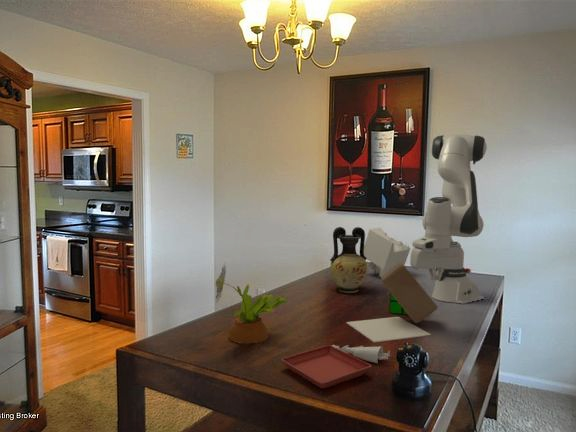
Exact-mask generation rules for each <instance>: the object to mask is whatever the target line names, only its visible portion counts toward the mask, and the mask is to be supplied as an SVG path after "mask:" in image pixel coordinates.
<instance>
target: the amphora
mask: <svg viewBox="0 0 576 432" xmlns="http://www.w3.org/2000/svg"><path fill="white" fill-rule="evenodd" d="M332 232H333V233H332V238H333V239H332V240H333V242H332V243H333V255H332V256H331V258H330V259H329V261H330V267H329V268H330V275H331V276H332V279H333V281H334V282H335V283H336V285H337V286H338V291H339V292H341V293H347V294H352V293H354V294H355V293H357V292H359V288H358V287H359V286H360V285H361V284H363V282H364V280H365V278H366V276H367V274H368V273H367V272H368V263H367V258H366V257H365V256H364V245H365V242H366V233H365V230H364V228H362V227H360V226H356V227H354V228H353V229H352V230H351V234H347V231H346V229H345V228H344V227H342V226H338V227H336V228H334V230H333V231H332ZM338 239H339V242H340V243H341V244H342V245H341V246H342V250H341V253H339V246H338V244H339V243H338ZM359 240H360V242H359ZM358 243H359V254H358V253H357V248H356V246H357V244H358Z"/></svg>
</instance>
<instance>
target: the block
mask: <svg viewBox="0 0 576 432" xmlns="http://www.w3.org/2000/svg"><path fill="white" fill-rule="evenodd" d="M380 279H381V283H382V284H383V285H384V287H386V289H387V290H388V291H389V294H390V293H391V294H392V295H393V296H394V298H395V299H396V300H397V301H398V303H399V304H400V305H401V306H402V307H403V309H404V310H405V311H406V312H407V314H408V315H407V316H409V318H410V320H411V321H413V323H416V324H419V323H420V322H422V321H423V320H425V319H426V318H427V317H428V316H430V315H431V314H433V313H434V312H435V311H436V310H437V309H438V305H437V304H436V302H434V300H433V298H432V297H430V295H429V294H428V293H427V292H426V290H425V289H424V288H423V286H422V285H420V283H419V282H418V281H417V279H416V278H415V277H414V276H413V275H412V273H411V272H410V270H408V269H407V267H406V266H405V265H403V264H402V263H398V264H397V265H396V266H394V267H393V268H392V269H391V270H389V271H388V272H387V273H385V274H384V275H383V276H382V277H380Z"/></svg>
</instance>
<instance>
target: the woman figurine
mask: <svg viewBox="0 0 576 432" xmlns="http://www.w3.org/2000/svg"><path fill="white" fill-rule="evenodd" d="M331 346H333V347H335V348H337V349H339V350H341V351H343V352H345V353H347V354H349V355H352V356H354V357H356V358H358V359H360V360H362V361H365V362H370V363H373V364H374V363H375V364H378V365H379V362H378V360H379V361H380V360H389V357H390V356H391V354H390V353H391V350H388V352H387V353H386V352H384V347H383V346H364V345H360V346H354V347H349V345H344V346H343V347H341V348H340V346H339V345H335V344H332V345H331Z"/></svg>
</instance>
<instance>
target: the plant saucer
mask: <svg viewBox="0 0 576 432" xmlns="http://www.w3.org/2000/svg"><path fill="white" fill-rule="evenodd" d="M281 362H282V363H283V364H284V365H285V366H286V367H287V368H288V369H289V370H290V369H291V370H292V371H291V370H290V371H291V372H293V371H294V372H293V373H294V374H296V373H297V374H296V375H298V374H299V375H298V376H300V377H301V376H302V377H301V378H302V379H304V380H306V379H307V380H306V381H308V382H309V381H310V382H309V383H311V382H312V383H311V384H313V385H314V384H315V385H314V386H316V387H317V386H318V387H317V388H319V387H320V388H319V389H321V388H325V389H327V387H328V388H330V386H331V387H333V386H336V385H338V384H341V382H342V383H345V382H347V381H350V380H352V379H355V378H358V377H361V376H363V375H364V374H365V373H366V372H367V371H368V370H369V369H370V368H371V367H372V365H371V364H370V363H368V362H367V361H365V360H363V359H360V358H357V357H355V356H354V355H352V354H350V353H349V354H347V353H345V352H343V351H341V350H339V349H337V348H335V347H333V346H332V345H331V344H327V345H324V346H320V347H317V348H313V349H310V350H306V351H303V352H299V353H295V354H293V355H290V356H286V357H283V358H281ZM344 381H345V382H344Z"/></svg>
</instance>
